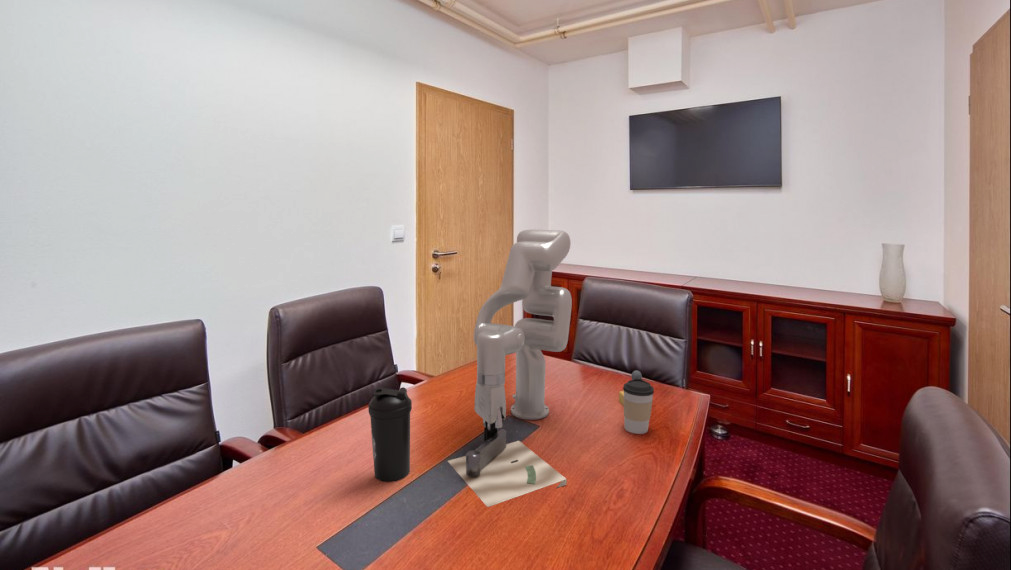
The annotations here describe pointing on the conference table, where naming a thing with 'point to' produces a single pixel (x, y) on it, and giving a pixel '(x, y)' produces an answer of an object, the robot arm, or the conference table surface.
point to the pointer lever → (485, 453)
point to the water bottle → (390, 433)
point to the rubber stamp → (635, 375)
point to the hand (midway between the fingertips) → (490, 440)
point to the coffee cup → (637, 405)
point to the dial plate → (509, 474)
